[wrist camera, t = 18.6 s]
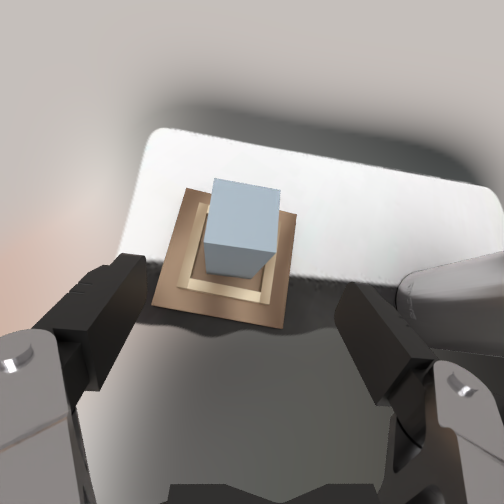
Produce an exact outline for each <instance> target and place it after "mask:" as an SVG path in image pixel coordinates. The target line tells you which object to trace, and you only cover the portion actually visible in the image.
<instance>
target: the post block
mask: <svg viewBox="0 0 504 504" xmlns="http://www.w3.org/2000/svg"><path fill="white" fill-rule="evenodd" d="M279 205H280V190H277V189H272V188H266V187H261V186H255V185H250V184H244V183H239V182H233V181H228V180H222V179H217V178H214V183H213V189H212V195H211V201H210V207H209V213H208V219H207V225H206V231H205V237H204V252H205V264H206V274H212V275H220V276H228V277H236V278H244V279H252V278H253V276H254V275H255V274H256V273H257V272H258V271H259V270H260V269H261V268H262V267H263V266H264V265H265V264H266V263H267V262H268V261H269V260H270V259H271V258H272V257H273V256H274V255H275V254H276V249H277V235H278V220H279Z"/></svg>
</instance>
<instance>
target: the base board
mask: <svg viewBox="0 0 504 504" xmlns="http://www.w3.org/2000/svg"><path fill="white" fill-rule="evenodd" d="M211 195H212V194H210V193H206V192H202V191H197V190H193V189H189V188H186V191H185V194H184V197H183V201H182V204H181V207H180V211H179V214H178V217H177V221H176V224H175V227H174V231H173V234H172V237H171V240H170V244H169V247H168V250H167V254H166V257H165V260H164V264H163V267H162V270H161V274H160V277H159V280H158V284H157V287H156V290H155V294H154V297H153V300H152V304H151V305H154V306H158V307H164V308H169V309H175V310H180V311H186V312H191V313H197V314H202V315H208V316H213V317H219V318H224V319H230V320H235V321H240V322H246V323H251V324H257V325H262V326H268V327H273V328H279V329H283V322H284V314H285V306H286V298H287V290H288V282H289V274H290V265H291V257H292V249H293V241H294V233H295V225H296V217H297V214H293V213H289V212H284V211H280V210H279V220H278V235H277V249H276V254H275V255H274V256H273V257H272V258H271V259H270V260H269V261H268V262H267V263H266V264H265V265H264V266H263V267H262V268H261V269H260V270H259V271H258V272H257V273H256V274H255V275H254V276H253V278H252V279H244V278H236V277H228V276H220V275H212V274H206V264H205V252H204V237H205V231H206V225H207V219H208V213H209V207H210V201H211Z"/></svg>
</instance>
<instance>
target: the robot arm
mask: <svg viewBox="0 0 504 504" xmlns="http://www.w3.org/2000/svg"><path fill="white" fill-rule="evenodd" d="M146 297H147V268H146V258H145V256H143V255H134V254H126V253H121V254H120V255H119V256H118V257H117V258H116V259H115V260H114V261H113V263H112V264H111V265H110V266H109V265H102V266H100V267H98V268H96V269H94V270H92V271H90V272H88V273H87V274H86V275H85V276H84V277H83V278H82V279H81V280H80V281H79V282H78V284H76V285H75V286H74V287H73V288H72V289H71V290H70V291H69V293H67V294H66V295H65V296H64V297H63V298H62V299H61V300H60V301H59V302H58V303H57V304H56V305H55V306H54V307H52V309H51V310H50V311H48V312H47V313H46V314H45V315H44V316H43V318H41V319H40V320H39V321H38V322H37V323H36V324H35V325H34V326H33V327H32V328H31V329H27V330H21V331H16V332H13V333H10V334H7V335H4V336H2V337H0V504H97V503H96V499H95V495H94V491H93V487H92V482H91V478H90V473H89V469H88V463H87V459H86V454H85V448H84V443H83V438H82V433H81V428H80V423H79V418H78V413H77V408H76V405H77V402H78V401H79V399H80V398H81V396H82V394H83V392H84V391H100V389H101V387H102V385H103V384H104V381H105V380H106V378H107V376H108V374H109V372H110V370H111V368H112V366H113V364H114V362H115V360H116V358H117V357H118V354H119V353H120V351H121V349H122V347H123V345H124V343H125V341H126V339H127V337H128V335H129V333H130V332H131V330H132V328H133V326H134V324H135V322H136V320H137V318H138V316H139V314H140V312H141V310H142V308H143V306H144V304H145V301H146ZM396 303H397V310H398V311H397V310H396V309H395V308H394V307H393V306H392V305H391V304H389V303H388V302H387V301H385V300H384V299H383V298H382V297H381V296H380V295H379V293H378V292H377V291H376V290H375V289H374V287H373V286H372V285H370V284H366V283H358V282H349V283H348V284H347V286H346V288H345V290H344V292H343V294H342V297H341V299H340V301H339V303H338V305H337V308H336V310H335V314H334V320H335V324H336V327H337V329H338V331H339V333H340V335H341V337H342V339H343V341H344V343H345V345H346V346H347V349H348V351H349V353H350V355H351V357H352V358H353V361H354V363H355V365H356V367H357V369H358V371H359V373H360V375H361V377H362V379H363V381H364V383H365V385H366V387H367V389H368V391H369V393H370V395H371V397H372V399H373V401H374V403H375V405H376V406H392V408H393V410H394V413H393V414H392V416H391V417H390V423H389V433H388V443H387V453H386V463H385V473H384V478H383V482H382V485H381V487H380V489H379V491H378V493H376V490H375V488H374V485H373V484H326V485H324V486H322V487H320V488H317V489H315V490H312V491H310V492H308V493H306V494H303V495H301V496H299V497H296V498H294V499H292V500H289V501H287V502H285V503H275V502H272V501H269V500H267V499H264V498H261V497H258V496H256V495H253V494H250V493H247V492H245V491H242V490H239V489H236V488H233V487H231V486H228V485H226V484H188V485H187V484H174V485H173V484H171V485H170V490H169V495H168V501H166V502H163V503H160V504H504V397H503V396H500V395H498V394H495V393H492V392H490V391H489V390H488V388H487V387H486V386H485V385H484V384H483V383H482V382H481V381H480V380H479V379H478V378H476V376H474V375H473V374H472V373H470V372H469V371H467V370H465V369H464V368H462V367H460V366H458V365H456V364H454V363H451V362H448V361H440V360H439V359H438V357H437V356H436V355H435V354H434V353H433V352H432V351H431V349H430V348H435V349H442V350H450V351H458V352H466V353H473V354H482V355H490V356H498V357H504V251H501V252H497V253H493V254H489V255H484V256H480V257H476V258H472V259H468V260H464V261H459V262H455V263H451V264H447V265H442V266H438V267H434V268H430V269H426V270H422V271H418V272H414V273H411V274H410V275H408V276H406V277H405V278H404V279H403V280H402V282H401V284H400V285H399V288H398V291H397V299H396Z"/></svg>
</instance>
